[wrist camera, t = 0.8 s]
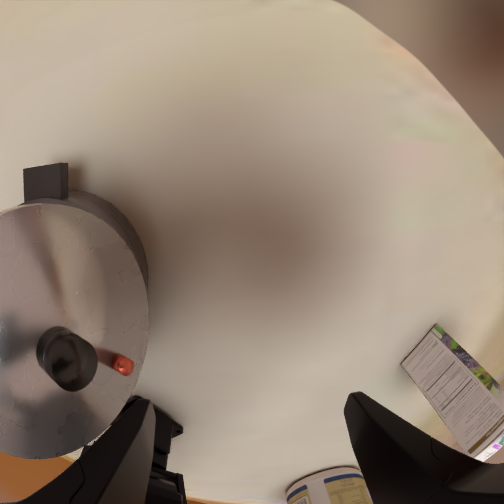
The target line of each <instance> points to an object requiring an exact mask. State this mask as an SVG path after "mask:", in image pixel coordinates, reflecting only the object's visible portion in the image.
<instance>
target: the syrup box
mask: <svg viewBox="0 0 504 504" xmlns="http://www.w3.org/2000/svg"><path fill="white" fill-rule="evenodd" d="M401 365H402V367H403V368H404V369H405V370H406V372H407V373H408V375H409V376H410V377H411V378H412V380H413V381H414V382H415V384H416V385H417V386H418V388H419V389H420V390H421V392H422V393H423V394H424V396H425V397H426V398H427V400H428V401H429V402H430V404H431V405H432V406H433V408H434V409H435V410H436V412H437V413H438V415H439V416H440V418H441V419H442V420H443V422H444V423H445V425H446V426H447V427H448V429H449V430H450V432H451V433H452V435H453V436H454V437H455V439H456V440H457V442H458V443H459V444H460V446H461V447H462V449H463V450H464V451H465V453H466V454H467V455H468V456H470V457H472V458H475V459H477V460H480V461H482V462H483V461H485V460H486V459H487V458H489V457H490V456H491V455H493V454H494V453H495V452H496V451H497V450H499V449H500V448H501V447H502V446H503V445H504V389H503V388H502V387H501V386H500V385H499V384H498V383H497V382H496V381H495V380H494V379H493V378H492V377H491V376H490V375H489V374H488V372H487V371H486V370H485V369H484V368H483V367H481V366H480V364H479V363H477V361H476V360H474V359H473V358H472V357H471V356H470V355H469V354H468V353H467V352H466V351H465V350H464V349H463V348H462V347H461V346H460V345H459V344H458V343H457V342H456V341H454V340H453V339H452V338H451V337H450V336H449V335H448V334H447V333H446V332H445V331H444V330H443V329H441V328H440V327H439V326H438V325H435V326H434V327H433V328H432V329H431V331H430V332H429V333H428V334H427V335H426V337H425V338H424V339H423V340H422V341H421V342H420V343H419V345H418V346H417V347H416V348H415V349H414V350H413V351H412V353H411V354H410V355H409V356H408V357H407V358H406V359H405V360H404V361H403V362H402V364H401Z"/></svg>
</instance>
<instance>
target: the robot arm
mask: <svg viewBox="0 0 504 504" xmlns="http://www.w3.org/2000/svg"><path fill="white" fill-rule="evenodd" d="M344 416H345V420H346V424H347V428H348V432H349V436H350V440H351V444H352V448H353V451H354V454H355V456H356V459H357V461H358V464H359V467H360V469H361V472H362V475H363V477H364V480H365V483H366V486H367V488H368V491H369V494H370V496H371V499H372V502H373V504H504V463H500V464H489V463H485V462H482V461H480V460H477V459H475V458H472V457H470V456H468V455H465V454H463V453H461V452H459V451H456V450H454V449H452V448H450V447H448V446H447V445H445V444H443V443H441V442H439V441H438V440H436V439H434V438H433V437H432V438H431V436H429V435H428V434H426V433H424V432H423V431H421V430H420V429H418V428H416V427H415V426H413V425H412V424H410V423H408V422H407V421H405V420H404V419H402V418H401V417H399V416H398V415H396V414H394V413H393V412H391V411H390V410H388V409H387V408H385V407H384V406H382V405H381V404H379V403H378V402H376V401H375V400H373V399H372V398H370V397H369V396H367V395H366V394H364V393H363V392H360V391H359V392H353V393H350V394H349V396H348V399H347V401H346V404H345V407H344ZM111 425H112V426H111V427H110V428H109V429H108V430H107V431H106V432H105V433H104V434H103V435H102V436H101V437H100V438H99V439H98V440H97V441H94V443H93V444H92V445H90V446H87V445H85V446H84V448H83V450H82V453H81V456H80V457H79V459H77V460H76V461H75V462H74V463H73V464H72V465H71V466H70V467H68V468H67V469H66V470H65V471H64V472H63V473H61V474H60V475H59V476H58V477H56V478H55V479H54V480H53V481H51V482H50V483H48V484H47V485H45V486H44V487H42V488H41V489H39V490H38V491H37V492H35V493H34V494H32V495H31V496H29V497H27V498H26V499H23V500H21V501H18V502H12V503H0V504H187V501H186V495H185V488H184V481H183V475H182V474H179V473H173V472H170V471H167V470H166V468H167V459H168V454H169V453H170V446H171V439H172V438H173V437H176V436H178V435H180V434H182V433H183V428H182V427H181V426H179V425H178V424H176V423H175V422H173V421H172V420H170V419H169V418H168V417H166V416H165V415H163V414H162V413H160V412H159V411H158V410H156V409H155V408H154V407H153V405H152V402H151V400H149V399H142V398H140V397H137V396H135V397H133V398H131V399H130V400H128V401H127V402H126V404H125V405H124V407H123V408H122V410H121V411H120V413H119V414H118V415H117V417H116V418H115V419H114V421H113V422H112V423H111Z"/></svg>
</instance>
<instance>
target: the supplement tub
mask: <svg viewBox="0 0 504 504" xmlns="http://www.w3.org/2000/svg"><path fill="white" fill-rule="evenodd" d="M286 500H287V504H373V502H372V499H371V496H370V494H369V491H368V488H367V486H366V483H365V480H364V478H363V475H362V473H361V472H360V471H359V470H357V469H355V468H349V467H342V468H335V469H330V470H326V471H323V472H319V473H316V474H314V475H311V476H308V477H306V478H304V479H302V480H300V481H298V482H297V483H295V484H294V485H293V486H292V487H291V488H290V489H289V490H288V492H287V494H286Z"/></svg>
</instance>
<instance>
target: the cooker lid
mask: <svg viewBox="0 0 504 504" xmlns="http://www.w3.org/2000/svg"><path fill="white" fill-rule="evenodd" d="M148 330H149V310H148V299H147V293H146V288H145V284H144V280H143V276H142V274H141V271H140V268H139V266H138V263H137V261H136V259H135V257H134V255H133V254H132V252H131V250H130V249H129V247H128V246H127V244H126V243H125V241H124V240H123V239H122V238H121V237H120V236H119V234H118V233H117V232H116V231H115V230H114V229H113V228H111V227H110V226H109V225H108V224H107V223H105V222H104V221H103V220H101V219H99V218H98V217H96V216H94V215H93V214H91V213H89V212H86V211H84V210H81V209H79V208H75V207H71V206H66V205H60V204H42V203H35V204H27V205H20V206H17V207H13V208H10V209H7V210H4V211H2V212H0V451H1V452H3V453H6V454H9V455H12V456H15V457H21V458H27V459H47V458H54V457H58V456H62V455H66V454H68V453H71V452H73V451H76V450H77V449H79V448H81V447H83V446H85V445H86V444H88V443H89V442H91V441H92V440H94V439H95V438H96V437H97V436H99V435H100V434H101V433H102V432H103V431H104V430H105V429H106V428H107V427H108V426H109V425H110V424H111V423H112V422H113V421H114V419H115V418H116V417H117V415H118V414H119V413H120V411H121V410H122V408H123V407H124V405H125V404H126V402H127V400H128V399H129V397H130V395H131V393H132V391H133V389H134V387H135V384H136V382H137V379H138V377H139V374H140V371H141V368H142V365H143V361H144V357H145V353H146V347H147V341H148Z"/></svg>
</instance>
